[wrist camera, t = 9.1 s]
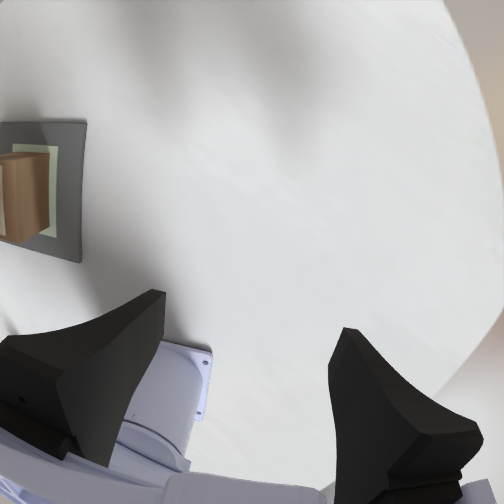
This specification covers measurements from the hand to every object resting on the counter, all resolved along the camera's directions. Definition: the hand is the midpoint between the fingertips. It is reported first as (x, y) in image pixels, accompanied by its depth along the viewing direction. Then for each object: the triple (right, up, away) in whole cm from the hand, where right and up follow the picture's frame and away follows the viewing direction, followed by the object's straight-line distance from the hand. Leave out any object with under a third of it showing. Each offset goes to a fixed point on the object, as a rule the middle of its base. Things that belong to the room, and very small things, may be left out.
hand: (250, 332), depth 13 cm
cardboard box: (-18, +8, +9) cm, 22 cm away
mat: (-18, +8, +9) cm, 22 cm away
